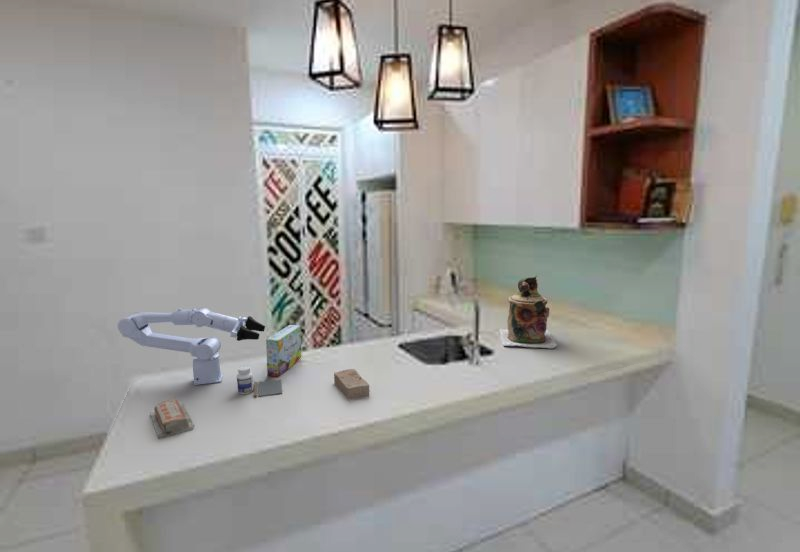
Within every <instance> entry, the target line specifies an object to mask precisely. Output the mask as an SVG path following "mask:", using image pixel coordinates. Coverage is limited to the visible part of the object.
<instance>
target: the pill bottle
mask: <svg viewBox="0 0 800 552" xmlns="http://www.w3.org/2000/svg"><path fill="white" fill-rule="evenodd" d="M237 373H238V374H236V382H237V383H236V384H237V386H236V387H237V393H238V394H240V395H249V394H251V393H252V392H254V381H253V379H254V378H253V374H252V372H251V367H250V366H248V365H245V366H240V367H238V369H237Z"/></svg>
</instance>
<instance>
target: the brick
mask: <svg viewBox="0 0 800 552" xmlns="http://www.w3.org/2000/svg"><path fill="white" fill-rule="evenodd" d="M333 374H334V375H333V382H334V384H335V386H336V385H337V386H336V387H337V388H338V390H339V391H341V393H343V395H344V396H345V397H346V398H347V399H348V400H355V399H359V398H365V397H369V396H370V385H369V383H368V382H367V381H366V380H365V379H364V378H363V377H362V376H361V374H360V373H359V372H358V371H357V370H356V368H348V369H345V370H340V371H336V372H335V371H334V372H333Z"/></svg>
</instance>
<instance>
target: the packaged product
mask: <svg viewBox="0 0 800 552" xmlns="http://www.w3.org/2000/svg"><path fill="white" fill-rule="evenodd" d="M149 414H150V418H151V420H152V424H153V426H154V429H155V433H156V435H157V438H158V439H164V438H167V437H170V436H173V435H177V434H182V433H184V432H189V431H192V430H195V423H194V422H193V420H192V418H191V416H190V414H189V412H188V410H187V408H186V406H185V404H184V403H179V402H178V398H175V399H173V398H170V399H167V400H165V401H163V402H161V403H158V404H157V405H155V406H154V409H153V411H152V412H149Z"/></svg>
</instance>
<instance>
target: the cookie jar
mask: <svg viewBox="0 0 800 552" xmlns="http://www.w3.org/2000/svg"><path fill="white" fill-rule="evenodd" d="M537 276H538V275H537V274H536V275H534V276H529V277H528V276H527V277H523V278H521V279H519V280H518V283H517V288H518V290H519V292H517V293H516V294H514V295H510V296H508V298H507V300H508V302H509V308H508V316H507V319H506V322H507V328H506V329H504V328H500V329H499V334H500V339H501V344H502V345H503V347H505V346H506V347H524V348H535V349H537V348H539V349H540V348H541V349H554V348H556V347H557V346H558V344H557V342H555V340H554V339H553V337H552V334H551V333H550V330H549V329H548V327H547V326H548V325H547V324H548V318H549V316H550V307H547V306H546V305H547V304H548V299H547V298H546V297H544V296H542V295H541V294H540V293H539V291H538V288H539V287H538V285H539V284H538V280H537Z"/></svg>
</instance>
